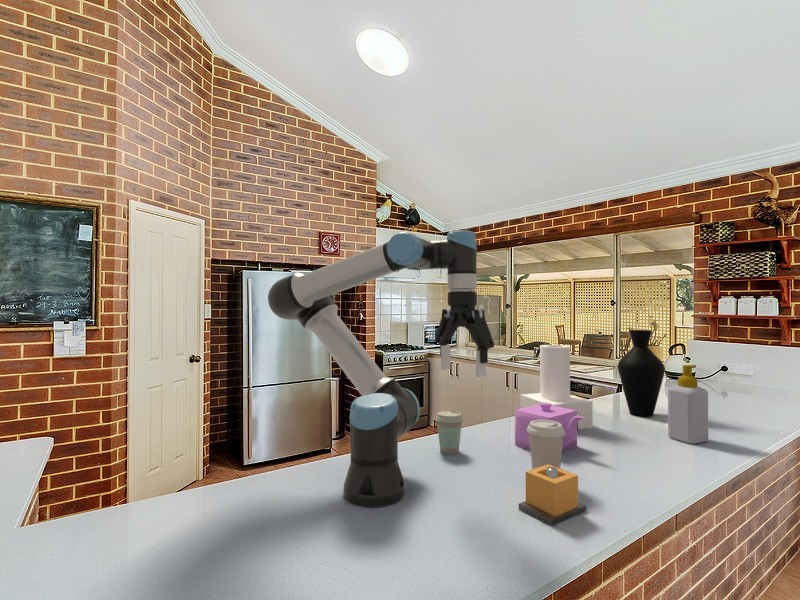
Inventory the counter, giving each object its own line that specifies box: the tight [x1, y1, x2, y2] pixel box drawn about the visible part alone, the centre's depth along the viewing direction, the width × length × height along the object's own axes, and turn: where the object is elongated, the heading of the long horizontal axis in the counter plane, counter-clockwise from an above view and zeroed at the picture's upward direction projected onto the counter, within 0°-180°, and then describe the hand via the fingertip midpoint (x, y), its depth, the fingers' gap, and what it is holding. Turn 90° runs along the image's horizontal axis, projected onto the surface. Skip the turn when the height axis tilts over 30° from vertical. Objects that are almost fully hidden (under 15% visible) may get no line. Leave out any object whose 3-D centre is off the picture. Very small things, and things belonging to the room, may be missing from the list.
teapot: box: [514, 402, 585, 452], centre depth 141 cm, size 15×25×14 cm, turn 37°
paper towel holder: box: [519, 344, 594, 430], centre depth 168 cm, size 19×19×30 cm
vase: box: [617, 329, 666, 418], centre depth 180 cm, size 17×17×35 cm
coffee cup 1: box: [435, 409, 464, 455], centre depth 137 cm, size 9×8×12 cm
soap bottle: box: [667, 364, 709, 445], centre depth 147 cm, size 9×9×25 cm
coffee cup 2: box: [527, 420, 565, 470], centre depth 114 cm, size 10×10×15 cm
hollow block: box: [525, 464, 579, 516], centre depth 98 cm, size 8×8×7 cm
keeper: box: [518, 467, 587, 527], centre depth 98 cm, size 12×9×9 cm
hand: (462, 372), depth 113 cm, fingers open, 13 cm apart
